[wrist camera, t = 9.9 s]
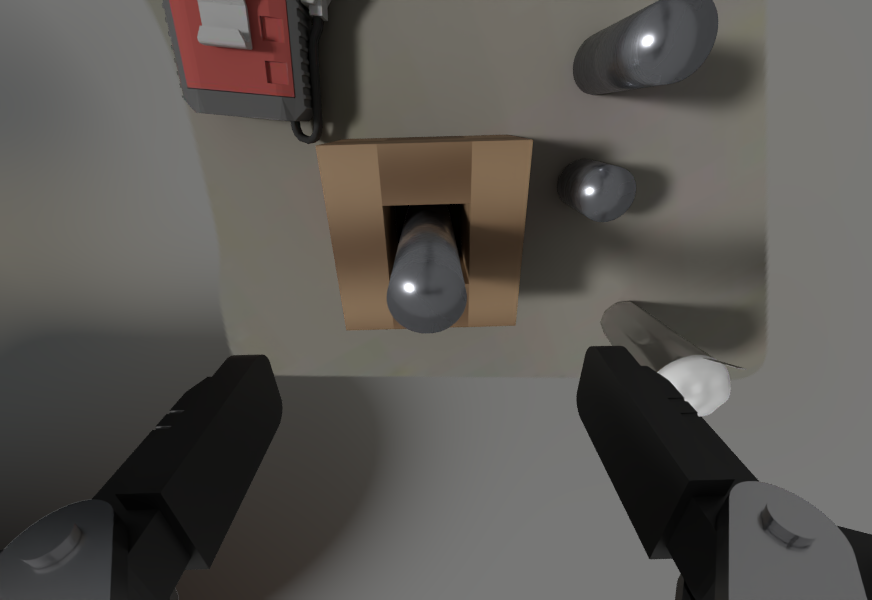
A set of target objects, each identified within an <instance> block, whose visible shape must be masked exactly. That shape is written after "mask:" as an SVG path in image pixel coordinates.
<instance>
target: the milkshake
mask: <svg viewBox="0 0 872 600" xmlns="http://www.w3.org/2000/svg"><path fill="white" fill-rule="evenodd" d="M600 323H601V326H602V329H603V332H604V334H605V335H606V337H607V338H608V340H609V342H610V343H611V345H612V346H624V347H625V348H626V349H627V350H628V351H629V352H630V353H631V355H632V356H633V357H634V358H635V359H636V361H637V362H638V363H639V364H640V365H641V366H648V367H650V368H651V369H653V370H654V371H656V372H657V373H659V374H660V375H662V376H663V377H665V378H666V379H668V380H669V381H670V382H671V383H672V384H673V385H674V387H675V388H676V389H677V390H678V391H679V392H680V393H681V394H682V396H683V397H684V400H685V401H688V402H689V403H690V405H691V406H692V407H693V408H694V409H695V410H696V411H697V412H698V413H697V414H698V416H699V417H700V416H706V415H709V414H711V413H712V412H714V411H715V410H716V409H717V408H718V407H719V406H720V405H722V404H723V403H725V402H726V401H727V400H728V398H729V397H730V391H731V382H730V377H729V372H728V369H727V368H726V367H725V365H728V366H731V367H735V368H738V369H745V370H746V368H742V367H739V366H735V365H732V364H728V363H724V362H721V361H718V360H716V359H715V358H713V357H712V356H710V355H709V354H707V353H706V352H705V351H703V350H702V349H700V348H699V347H697V346H696V345H694V344H693V343H691V342H690V341H688V340H686V339H685V338H683V337H682V336H680V335H679V334H678V333H676V332H675V331H673V330H672V329H671V328H669V327H668V326H667V325H665V324H664V323H662V322H661V321H660V320H658V319H657V318H656V317H654V316H653V315H651V314H650V313H649V312H647V311H646V310H645V309H643V308H642V307H640V306H638V305H636V304H634V303H632V302H631V301H627V302H620V303H616V304H614V305H613V306H611V307H610V308H609V309H607V310H606V311H605V312H604V315H603V317H602V319H601V321H600Z"/></svg>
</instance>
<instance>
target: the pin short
mask: <svg viewBox="0 0 872 600" xmlns="http://www.w3.org/2000/svg"><path fill="white" fill-rule="evenodd" d="M557 190H558V194H559V197H560V199H561V200H562V201H563V202H564V203H565V204H567V205H569V206H570V207H572V208H573V209H575V210H577V211H578V212H580V213H582V214H583V215H585V216H586V217H588V218H590V219H591V220H593V221H597V222H608V221H611V220H614V219H616V218H618V217H620V216H621V215H622V214H624V213H625V212H626V211H627V209H628V208H629V207H630V205H631V204H632V202H633V200H634V197H635V193H636V183H635V179H634V177H633V175H632V174H631V173H630V172H629V171H628V170H626V169H625V168H622V167H619V166H615V165H610V164H606V163H602V162H598V161H594V160H590V159H580V160H576V161H574V162H572V163H571V164H569V165H568V166H567V167H566V168H565V169H564V170H563V171H562V173H561V175H560V177H559V180H558V184H557Z"/></svg>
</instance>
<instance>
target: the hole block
mask: <svg viewBox="0 0 872 600" xmlns="http://www.w3.org/2000/svg"><path fill="white" fill-rule="evenodd" d="M532 146H533V140H531V139H526V138H521V137H516V136H511V135H482V136H445V137H408V138H371V139H343V140H339V141H334V142H330V143H325V144H321V145H317V146H316V151H317V157H318V163H319V169H320V175H321V181H322V187H323V193H324V199H325V205H326V211H327V217H328V223H329V229H330V235H331V241H332V247H333V253H334V259H335V265H336V271H337V277H338V283H339V289H340V295H341V301H342V307H343V313H344V319H345V325H346V330H375V329H407V328H405V327H403V326H402V325H400V324H399V323H398V322H397V321H396V320H395V319H394V318H393V316H392V315H391V313H390V311H389V309H388V306H387V297H386V296H387V289H388V285H389V281H390V277H391V273H392V269H393V265H394V261H395V257H396V253H397V249H398V237H397V224H396V211H395V205H427V204H461V248H457V250H458V255H459V260H460V264H461V269H462V274H463V278H464V283H465V288H466V293H467V303H466V307H465V310H464V312H463V314H462V316H461V317H460V318H459V320H458V321H457V322H456V323H455V324H453V325H452V326H450V327H481V326H515V325H516V315H517V304H518V294H519V283H520V272H521V262H522V251H523V241H524V230H525V220H526V209H527V199H528V188H529V177H530V167H531V156H532Z"/></svg>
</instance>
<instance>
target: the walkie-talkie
mask: <svg viewBox="0 0 872 600" xmlns="http://www.w3.org/2000/svg"><path fill="white" fill-rule="evenodd" d="M330 2H331V0H163V3H162V7H163V8H164V9H165V14H166V18H165V20H166V22H167V23H168V28H169V32H168V34H169V36H170V37H171V41H172V45H171V48H172V50H174V55H175V58H174V61H175V63H176V64H177V69H178V71H177V75H179V78H180V87H181V88H182V92H183V96H182V97H183V98H184V100H185V101H186V102H187V103H188V104H189V105H190V107H191V108H192V109H193V110H194V111H195V112H196V113H206V114H217V115H228V116H240V117H251V118H262V119H274V120H285V121H291V126H292V130H293V132H294V135H295V136H296V137H297V138H298V140H299V141H302V142H305V143H307V144H310V143H315V142H317V141H318V140H319V138H320V137H321V133H322V128H323V126H322V110H321V94H320V78H319V61H318V41H319V38H320V35H321V33H322V29H323V21H328V10H327V7H328V6H329V4H330ZM311 20H313V26H311ZM312 117H313V118H314V129H313V133H312V135H311V136H307V135H305V134H303V132H302V130H301V127H300V121H309V120H310V119H311V118H312Z"/></svg>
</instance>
